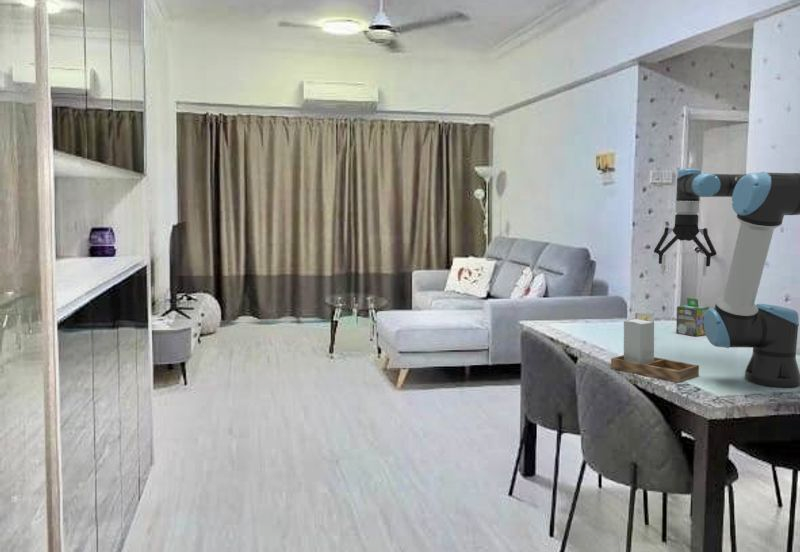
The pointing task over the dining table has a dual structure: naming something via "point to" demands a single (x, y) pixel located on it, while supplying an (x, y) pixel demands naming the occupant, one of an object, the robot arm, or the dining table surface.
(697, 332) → the chalk box
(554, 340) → the dining table surface
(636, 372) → the wooden divided tray
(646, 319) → the beige printed box
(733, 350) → the dining table surface
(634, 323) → the skincare box
